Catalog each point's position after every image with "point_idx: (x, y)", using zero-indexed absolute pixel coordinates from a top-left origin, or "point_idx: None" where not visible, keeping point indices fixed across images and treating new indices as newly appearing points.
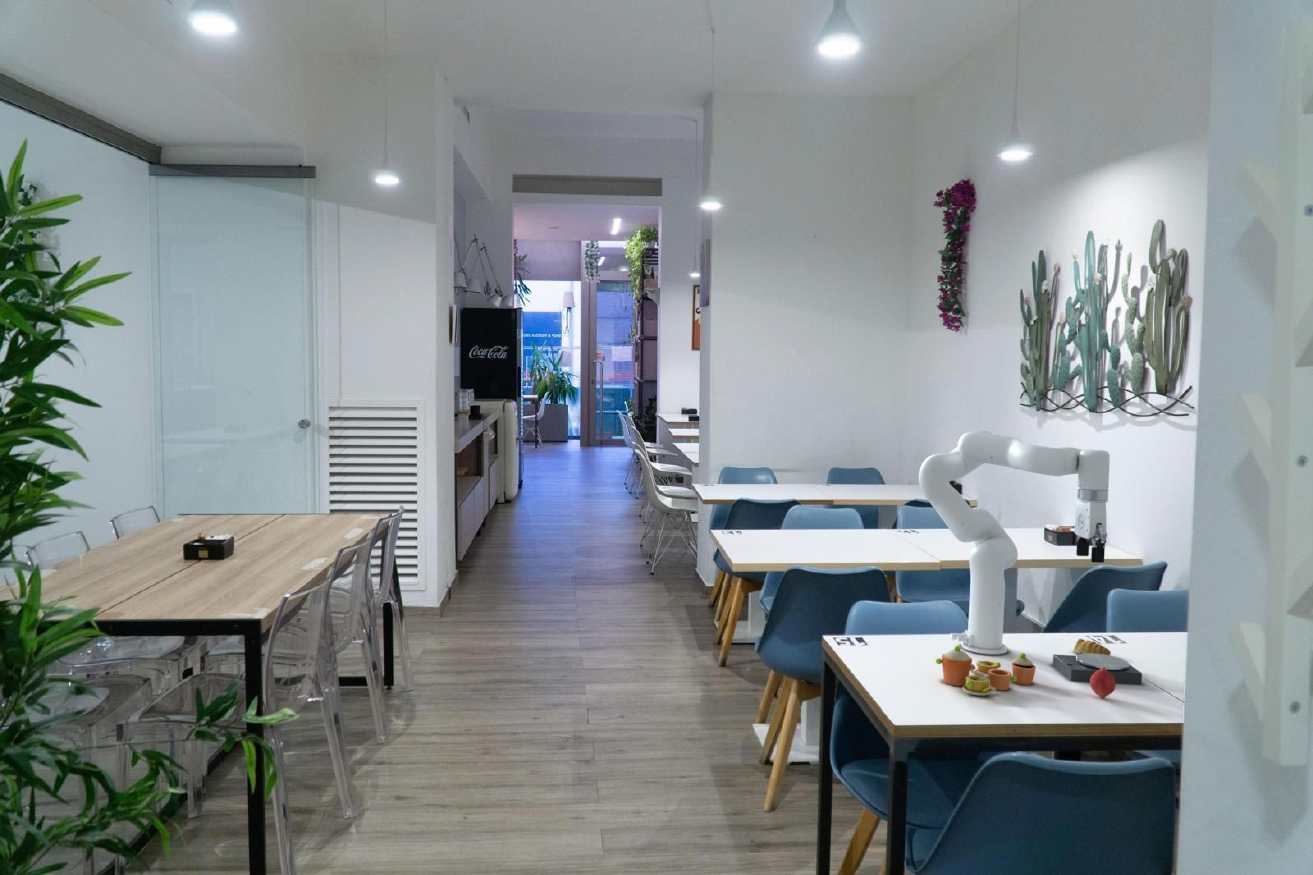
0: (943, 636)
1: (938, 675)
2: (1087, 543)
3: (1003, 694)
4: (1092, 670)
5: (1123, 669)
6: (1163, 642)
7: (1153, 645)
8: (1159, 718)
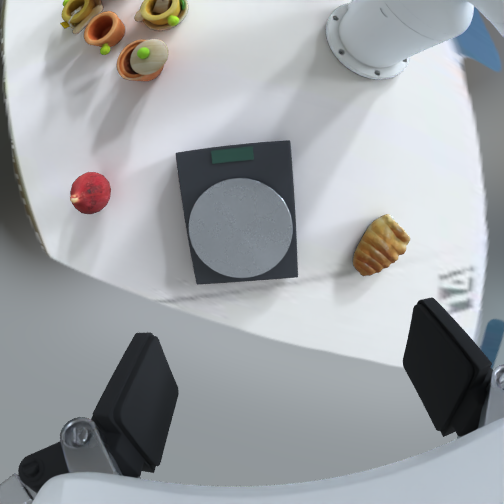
0: None
1: None
2: (439, 419)
3: (85, 44)
4: (183, 195)
5: None
6: None
7: None
8: (55, 247)
